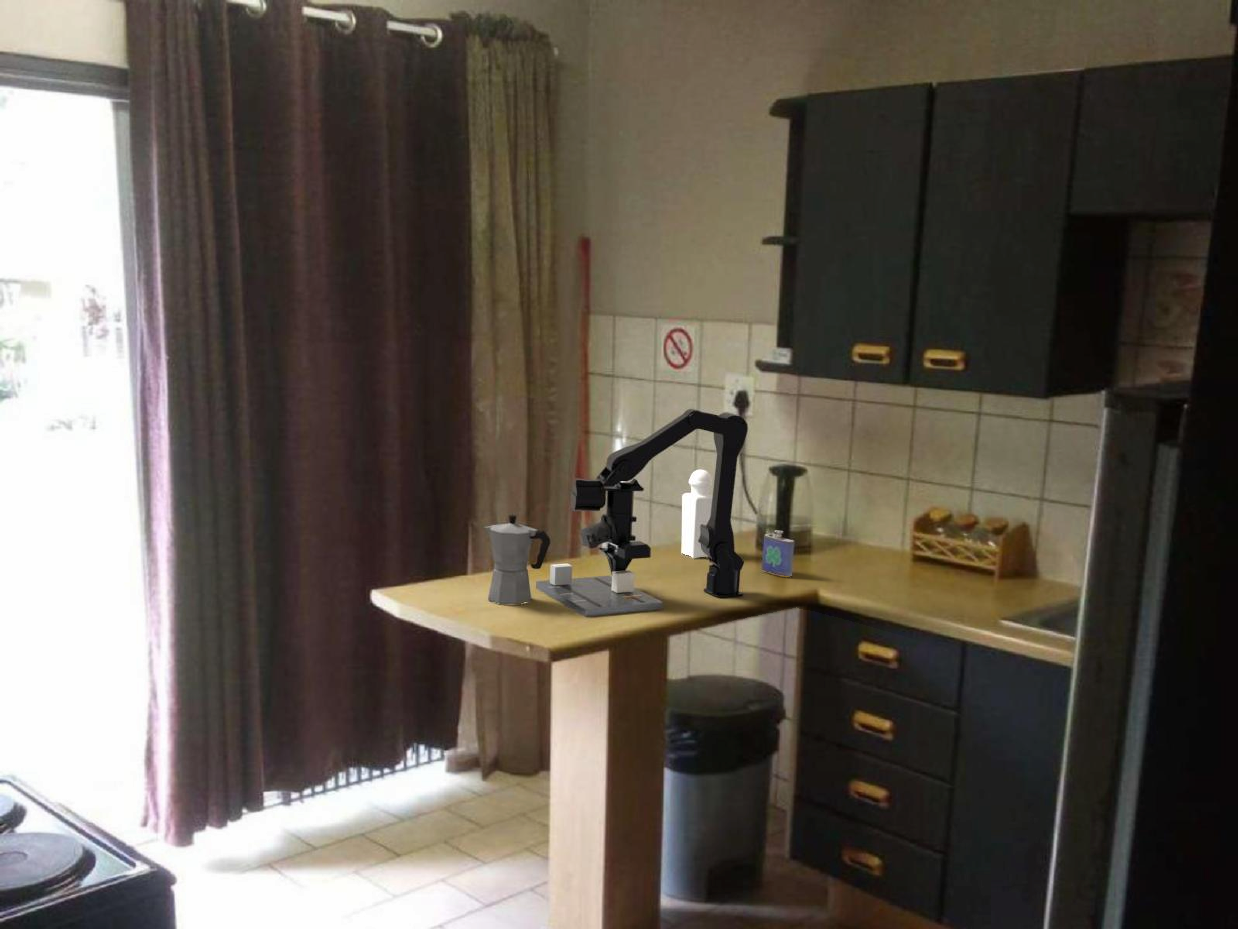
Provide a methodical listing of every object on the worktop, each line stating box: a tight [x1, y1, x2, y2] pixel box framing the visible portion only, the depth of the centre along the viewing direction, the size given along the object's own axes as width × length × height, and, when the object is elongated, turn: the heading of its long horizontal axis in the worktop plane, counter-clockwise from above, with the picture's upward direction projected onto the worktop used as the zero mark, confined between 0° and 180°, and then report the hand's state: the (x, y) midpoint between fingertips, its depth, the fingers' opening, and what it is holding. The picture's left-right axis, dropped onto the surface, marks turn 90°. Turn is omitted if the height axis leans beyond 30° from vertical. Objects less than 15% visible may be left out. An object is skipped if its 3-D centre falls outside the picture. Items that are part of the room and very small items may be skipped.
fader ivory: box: [611, 569, 635, 593], centre depth 243 cm, size 4×2×4 cm, turn 118°
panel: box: [535, 575, 664, 618], centre depth 243 cm, size 18×24×2 cm
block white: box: [549, 563, 573, 585], centre depth 247 cm, size 4×2×4 cm, turn 118°
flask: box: [761, 529, 795, 577], centre depth 273 cm, size 9×3×11 cm, turn 37°
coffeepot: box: [483, 514, 551, 605], centre depth 237 cm, size 15×9×18 cm, turn 66°
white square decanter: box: [680, 469, 714, 559], centre depth 288 cm, size 6×6×22 cm
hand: (616, 582), depth 246 cm, fingers closed
